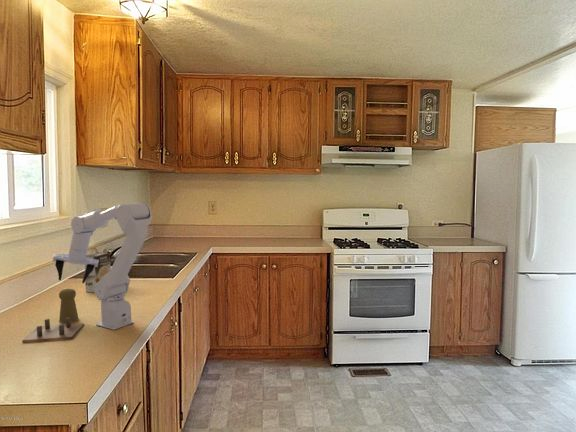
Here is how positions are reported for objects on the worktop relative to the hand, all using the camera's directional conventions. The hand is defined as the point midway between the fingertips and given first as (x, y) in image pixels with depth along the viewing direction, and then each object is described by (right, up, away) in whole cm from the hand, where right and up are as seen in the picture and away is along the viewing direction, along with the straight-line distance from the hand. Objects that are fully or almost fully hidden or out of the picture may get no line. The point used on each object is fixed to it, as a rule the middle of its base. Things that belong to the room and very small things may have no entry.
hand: (71, 280), depth 150 cm
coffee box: (-6, -10, +35) cm, 36 cm away
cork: (+2, -13, -5) cm, 14 cm away
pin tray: (+4, -14, -18) cm, 23 cm away
